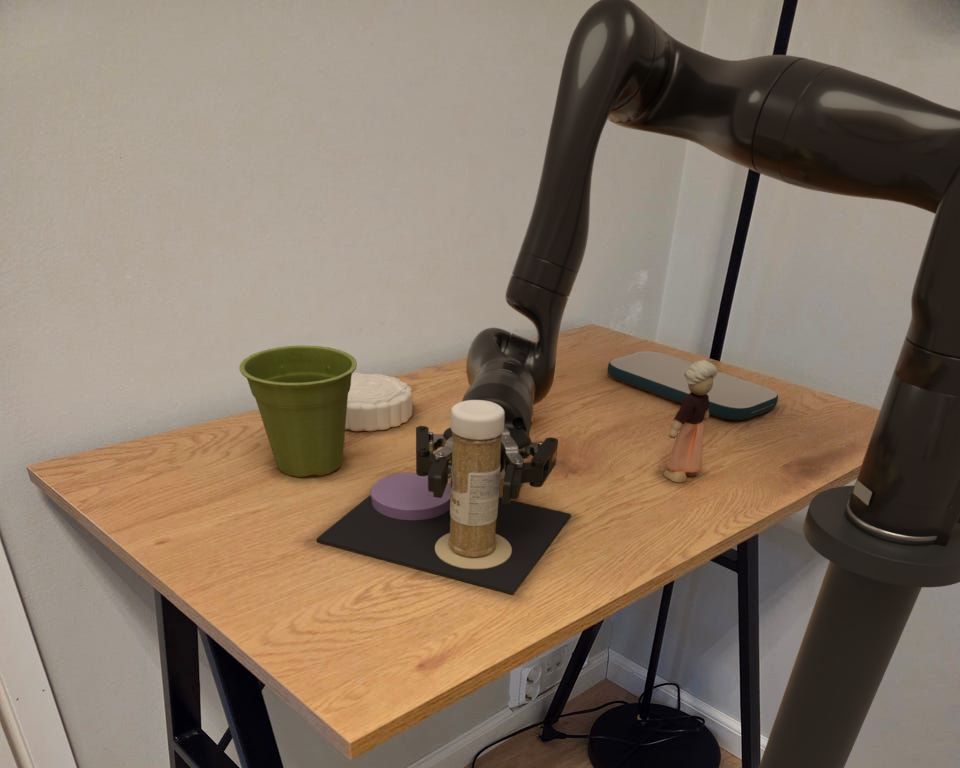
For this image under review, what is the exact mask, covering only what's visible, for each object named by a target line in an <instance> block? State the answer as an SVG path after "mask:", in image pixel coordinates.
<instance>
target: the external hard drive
mask: <svg viewBox="0 0 960 768" xmlns="http://www.w3.org/2000/svg"><path fill="white" fill-rule="evenodd" d="M694 363H695V362H692V361H690V360H687V359H684V358H681V357H677V356H675V355H672V354H669V353H664V352H662V351H661V352H660V351H654V350H640V351H636V352H632V353H629V354H625V355H622V356H619V357H618V356H617V357H615V358H612V359H610V360H609V361H608V364H607V374H608V375H609V377H611V378H612V379H614V380H616V381H618V382H622V383H625V384H628V385H630V386H632V387H634V388H638V389H641V390H643V391H646V392H648V393H651V394H654V395H657V396H660V397H662V398H665V399H668V400H670V401H673V402H676V403H678V404H681V405H682V402H683V400H684V398H685V397H686V396H687V395H688V394H690V393H691V391H690V390H689V387H688V383H687V381H686V377H685V376H684V373H685V371H687V369H688V367H690V366H691V365H693V364H694ZM707 395H708V397H709V415H711V416H713V417H717V418H721V419H724V420H730V421H745V420H749V419H753V418H754V417H758V416H759V415H761V414H765V413H767V412H770V411H772V410H774V409H775V408H776V406H777V405H778V404H777V403H778V401H779V393H778V392H777V391H775V390H774V389H772V388H770V387H768V386H765V385H763V384H760V383H756V382H754V381H750V380H747V379H744V378H741V377H738V376H736V375H735V376H734V375H733V374H730V373H726V372H723V371H720V370H717V375H716V376H715V378H713V386H712V389H711V390H710V391H709V392H708V393H707Z"/></svg>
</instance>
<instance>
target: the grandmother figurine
mask: <svg viewBox="0 0 960 768" xmlns="http://www.w3.org/2000/svg"><path fill="white" fill-rule="evenodd" d="M693 363H694V364H693V365H691V366H690V367H688V369H687V371H685V373H684V376H685V377H686V381H687V383H688V387H689V390H690V391H691V393H690V394H688V395H687V396H686V397H685V398H684V400H683V402H682V404H681V405H680V407H679V409H678V411H677V413H676V415H675V416H674V419H673V422H672V424H671V428H670V429H669V431H668V432H667V436H668V438H670V439H674V442H673V445H672V448H671V451H670V456H669V459H668V464H667V468H668V469H666V470H665V471H664V472H663V476H664V477H665V478H666V479H668V480H670V481H671V482H674V483H678V484H679V483H685V482H686V481H687V480H688V477H693V476H695V475H696V474H697V473H698V472H700V471H701V469H702V464H703V463H702V462H703V450H704V427H705V426H704V421H705V420H708V419H709V417H710V414H709V397H708V395H707V393H708V392H709V391H710V390H711V389H712V386H713V378H715V376H716V375H717V371H718V367H717V366H716V365H715V364H714V363H712V362H710V361H707V360H704V359H701V360H698V361H696V362H693Z"/></svg>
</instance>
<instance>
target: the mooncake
mask: <svg viewBox="0 0 960 768" xmlns="http://www.w3.org/2000/svg"><path fill="white" fill-rule="evenodd" d="M412 416H413V389H412V387H410V386H409V385H408V383H407V382H405V381H401V379H399V378H397V377H395V376H388V375H386V374H384V373H361V372H353V373H352V376H351V386H350V391H349V392H348V400H347V412H346V423H345V431H348V430H350V431H352V432H363V431H364V432H368V433H369V432H370V433H371V432H375V431H386V430H389V429H390V428H397V427H400V426H401V424H405V423H407V422H408V421H409V420H410V418H411V417H412Z"/></svg>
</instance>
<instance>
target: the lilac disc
mask: <svg viewBox="0 0 960 768" xmlns="http://www.w3.org/2000/svg"><path fill="white" fill-rule="evenodd" d="M370 495H371V503H372V506H373V507H374V509H375V510H376V511H378V512H379V513H381V514H383V515H385V516H388V517H391V518H395V519H400V520H425V519H431V518H434V517H437V516H440V515H442V514H444V513H446V512H447V511H448V510H449V509H450V497H451V483H450V482H448V483H447V485H446V488H445V491H444V493H443V496H442V498H437V497H434V496H433V492H430V491H429V490H428V476H418V475H417V474H416V472H400V473H399V472H398V473H395V474H390V475H387V476H383V477H382V478H380V479H378V480H377V481H375V482H374V483H373V484H372V486H371V488H370Z"/></svg>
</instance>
